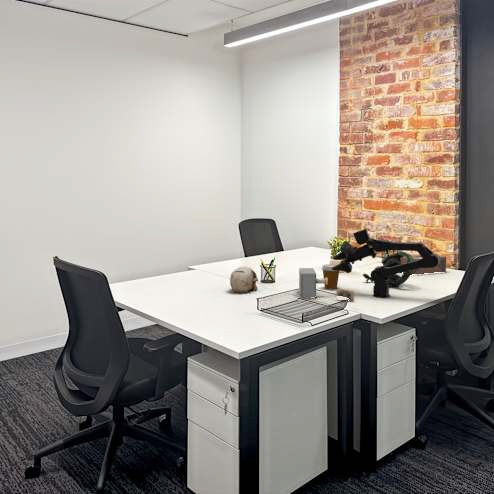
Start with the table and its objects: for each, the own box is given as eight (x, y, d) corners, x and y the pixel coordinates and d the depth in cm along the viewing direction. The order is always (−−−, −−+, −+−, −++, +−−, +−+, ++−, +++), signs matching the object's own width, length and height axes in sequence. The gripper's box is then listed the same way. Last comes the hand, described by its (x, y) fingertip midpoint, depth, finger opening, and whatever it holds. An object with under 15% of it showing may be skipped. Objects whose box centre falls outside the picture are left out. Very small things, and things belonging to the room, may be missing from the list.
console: (314, 291, 266) (314, 268, 265) (317, 298, 250) (317, 273, 249) (299, 291, 267) (299, 268, 265) (301, 298, 251) (301, 273, 249)
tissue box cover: (410, 276, 307) (411, 259, 306) (395, 272, 320) (395, 256, 319) (445, 273, 316) (446, 256, 315) (429, 269, 330) (430, 254, 328)
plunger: (326, 283, 256) (326, 276, 255) (327, 285, 252) (327, 278, 252) (314, 283, 256) (314, 276, 256) (315, 285, 253) (315, 278, 252)
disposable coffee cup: (325, 290, 268) (325, 267, 267) (319, 287, 277) (319, 264, 276) (342, 289, 270) (343, 266, 268) (336, 286, 279) (336, 263, 278)
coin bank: (254, 285, 281) (253, 261, 278) (263, 296, 264) (263, 270, 261) (225, 288, 277) (225, 264, 274) (233, 299, 261) (232, 273, 258)
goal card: (353, 301, 244) (353, 290, 243) (352, 301, 242) (352, 291, 242) (336, 299, 247) (337, 289, 247) (336, 300, 246) (336, 289, 245)
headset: (379, 298, 288) (417, 281, 264) (359, 289, 284) (396, 271, 260) (381, 270, 297) (418, 251, 273) (362, 261, 293) (398, 241, 269)
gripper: (354, 230, 261) (327, 242, 268) (351, 250, 246) (322, 261, 253) (365, 247, 265) (337, 258, 272) (363, 268, 249) (334, 279, 257)
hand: (333, 264), depth 263 cm, fingers open, 9 cm apart
